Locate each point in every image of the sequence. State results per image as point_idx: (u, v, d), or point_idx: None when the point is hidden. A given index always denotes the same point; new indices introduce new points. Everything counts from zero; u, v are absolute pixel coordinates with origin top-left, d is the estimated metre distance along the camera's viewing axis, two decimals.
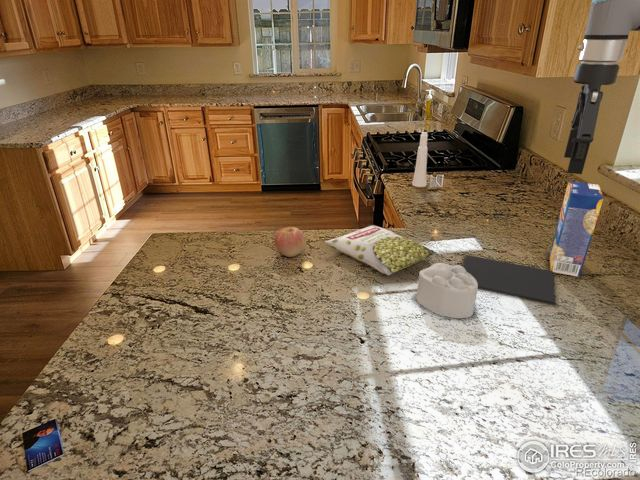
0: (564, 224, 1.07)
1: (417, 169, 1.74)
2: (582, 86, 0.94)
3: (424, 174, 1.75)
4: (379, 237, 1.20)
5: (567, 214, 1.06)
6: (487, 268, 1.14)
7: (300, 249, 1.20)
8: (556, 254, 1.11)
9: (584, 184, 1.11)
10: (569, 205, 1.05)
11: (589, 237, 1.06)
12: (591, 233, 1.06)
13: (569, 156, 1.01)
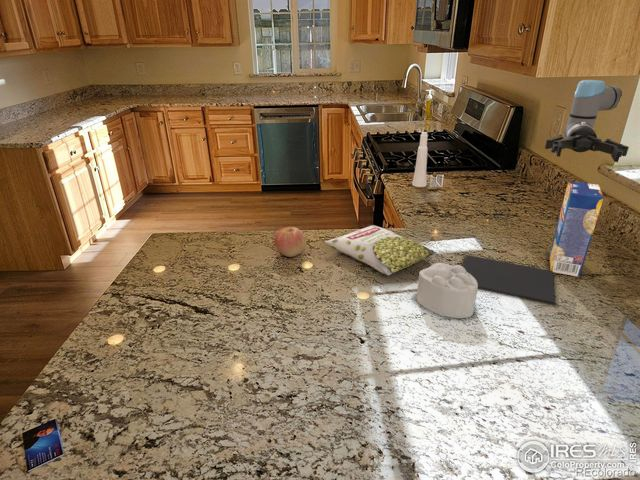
0: (564, 224, 1.07)
1: (417, 169, 1.74)
2: None
3: (424, 174, 1.75)
4: (379, 237, 1.20)
5: (567, 214, 1.06)
6: (487, 268, 1.14)
7: (300, 249, 1.20)
8: (556, 254, 1.11)
9: (584, 184, 1.11)
10: (569, 205, 1.05)
11: (589, 237, 1.06)
12: (591, 233, 1.06)
13: None
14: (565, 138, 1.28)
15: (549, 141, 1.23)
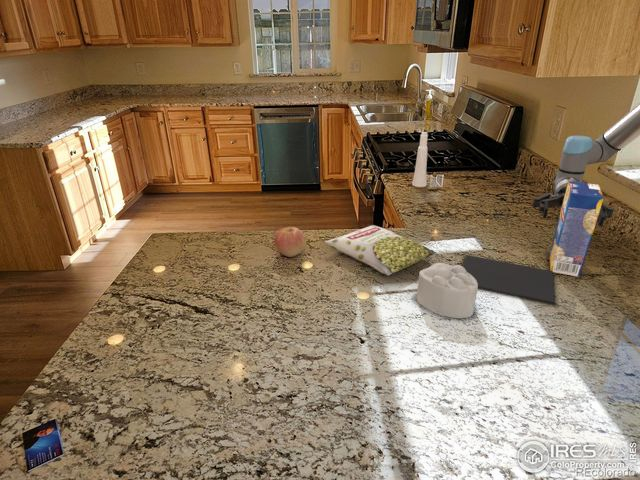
0: (564, 224, 1.07)
1: (417, 169, 1.74)
2: (549, 192, 1.31)
3: (424, 174, 1.75)
4: (379, 237, 1.20)
5: (567, 214, 1.06)
6: (487, 268, 1.14)
7: (300, 249, 1.20)
8: (556, 254, 1.11)
9: (584, 184, 1.11)
10: (569, 205, 1.05)
11: (589, 237, 1.06)
12: (591, 233, 1.06)
13: None
14: (553, 195, 1.30)
15: (536, 200, 1.25)
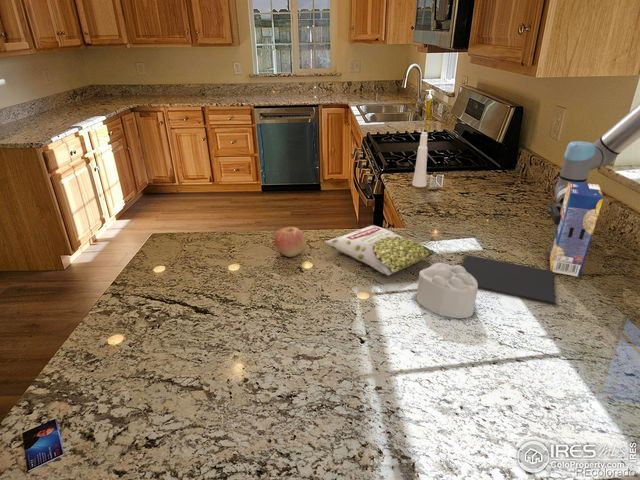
0: (564, 224, 1.07)
1: (417, 169, 1.74)
2: None
3: (424, 174, 1.75)
4: (379, 237, 1.20)
5: (567, 214, 1.06)
6: (487, 268, 1.14)
7: (300, 249, 1.20)
8: (556, 254, 1.11)
9: (584, 184, 1.11)
10: (569, 205, 1.05)
11: (589, 237, 1.06)
12: (591, 233, 1.06)
13: None
14: None
15: (560, 217, 1.14)
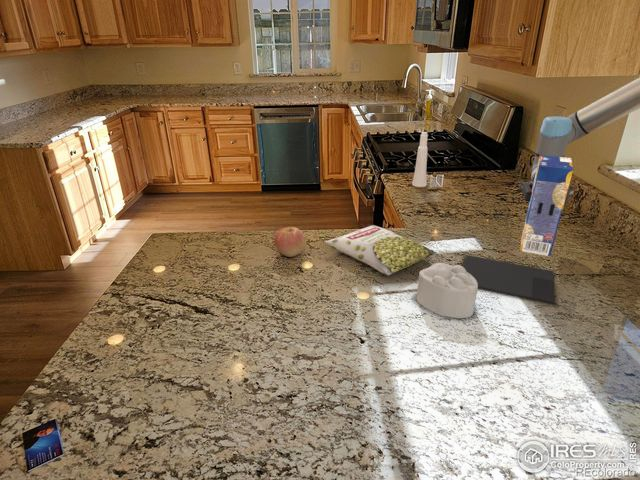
0: (533, 199, 1.01)
1: (417, 169, 1.74)
2: None
3: (424, 174, 1.75)
4: (379, 237, 1.20)
5: (535, 188, 0.99)
6: (487, 268, 1.14)
7: (300, 249, 1.20)
8: (525, 232, 1.04)
9: (556, 157, 1.04)
10: (537, 178, 0.98)
11: (559, 213, 0.99)
12: (561, 209, 0.99)
13: None
14: None
15: (531, 193, 1.07)
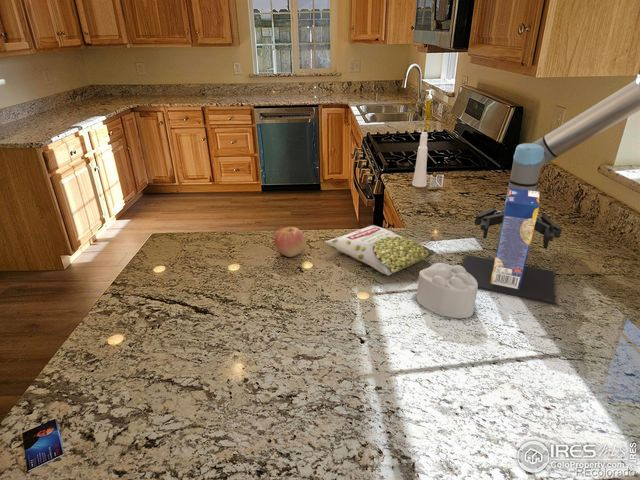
0: (501, 234, 1.01)
1: (417, 169, 1.74)
2: None
3: (424, 174, 1.75)
4: (379, 237, 1.20)
5: (503, 223, 1.00)
6: (487, 268, 1.14)
7: (300, 249, 1.20)
8: (495, 265, 1.05)
9: (524, 191, 1.04)
10: (505, 214, 0.99)
11: (527, 248, 1.00)
12: (529, 244, 0.99)
13: (487, 232, 1.05)
14: (499, 211, 1.17)
15: (478, 217, 1.11)
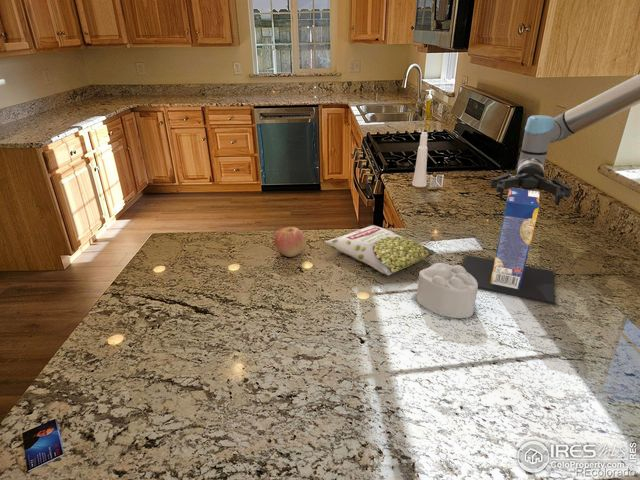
0: (501, 234, 1.01)
1: (417, 169, 1.74)
2: None
3: (424, 174, 1.75)
4: (379, 237, 1.20)
5: (503, 223, 1.00)
6: (487, 268, 1.14)
7: (300, 249, 1.20)
8: (495, 265, 1.05)
9: (524, 191, 1.04)
10: (505, 214, 0.99)
11: (527, 248, 1.00)
12: (529, 243, 0.99)
13: None
14: (513, 176, 1.26)
15: (494, 180, 1.20)
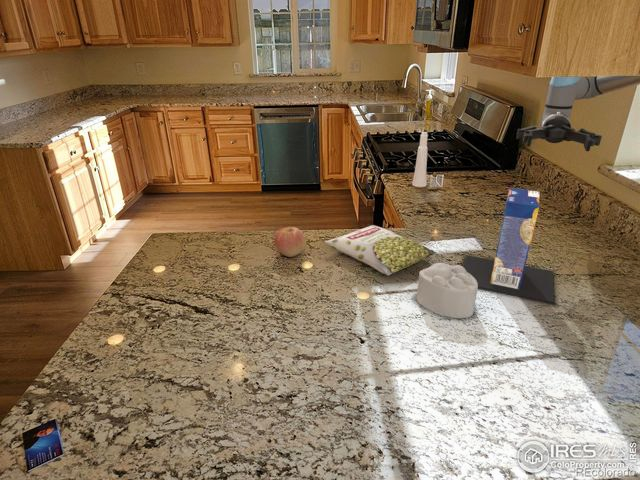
0: (501, 234, 1.01)
1: (417, 169, 1.74)
2: None
3: (424, 174, 1.75)
4: (379, 237, 1.20)
5: (503, 223, 1.00)
6: (487, 268, 1.14)
7: (300, 249, 1.20)
8: (495, 265, 1.05)
9: (524, 191, 1.04)
10: (505, 214, 0.99)
11: (527, 248, 1.00)
12: (529, 243, 0.99)
13: None
14: (538, 128, 1.23)
15: (520, 131, 1.18)
